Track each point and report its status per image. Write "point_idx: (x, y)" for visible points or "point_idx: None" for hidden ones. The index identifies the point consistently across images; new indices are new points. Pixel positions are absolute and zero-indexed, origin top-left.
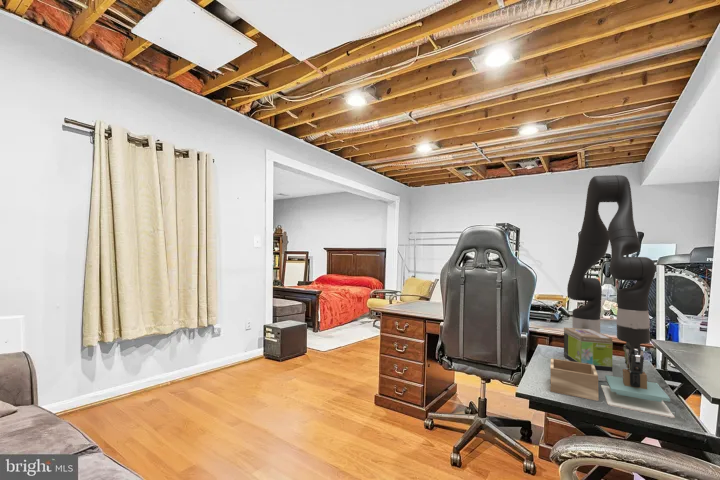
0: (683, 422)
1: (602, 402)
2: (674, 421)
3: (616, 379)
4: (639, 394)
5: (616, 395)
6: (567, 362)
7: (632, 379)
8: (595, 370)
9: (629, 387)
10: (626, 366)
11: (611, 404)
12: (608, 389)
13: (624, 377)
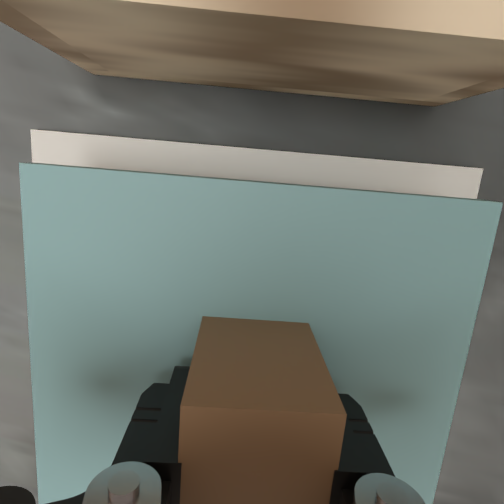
0: (19, 484)
1: (78, 100)
2: (3, 448)
3: (380, 283)
4: (35, 378)
5: None
6: None
7: (146, 421)
8: (273, 6)
9: (164, 343)
10: (380, 492)
11: (33, 153)
12: None
13: (211, 356)
